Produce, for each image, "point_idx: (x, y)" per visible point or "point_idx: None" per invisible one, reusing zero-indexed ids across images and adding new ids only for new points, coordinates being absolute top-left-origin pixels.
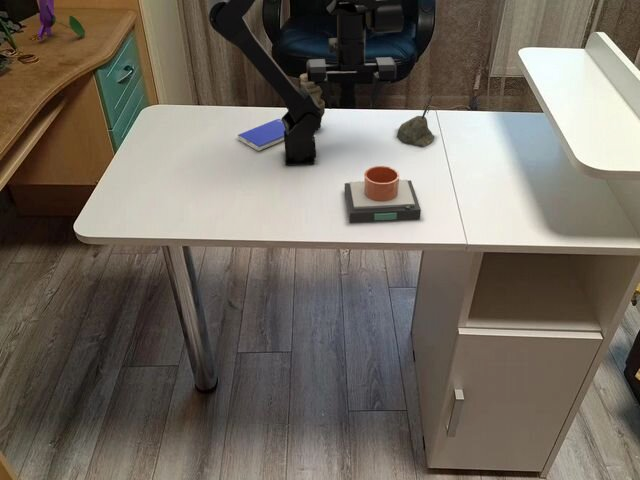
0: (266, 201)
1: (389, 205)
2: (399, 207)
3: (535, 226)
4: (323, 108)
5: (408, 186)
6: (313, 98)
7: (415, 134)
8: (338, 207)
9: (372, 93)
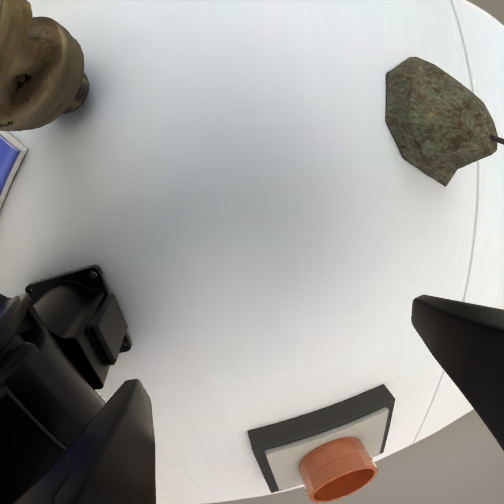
0: None
1: None
2: None
3: None
4: (68, 79)
5: (384, 426)
6: (27, 442)
7: (451, 169)
8: (242, 459)
9: (476, 366)
